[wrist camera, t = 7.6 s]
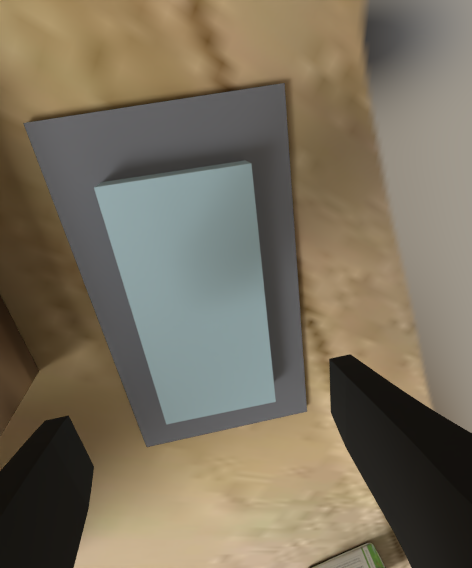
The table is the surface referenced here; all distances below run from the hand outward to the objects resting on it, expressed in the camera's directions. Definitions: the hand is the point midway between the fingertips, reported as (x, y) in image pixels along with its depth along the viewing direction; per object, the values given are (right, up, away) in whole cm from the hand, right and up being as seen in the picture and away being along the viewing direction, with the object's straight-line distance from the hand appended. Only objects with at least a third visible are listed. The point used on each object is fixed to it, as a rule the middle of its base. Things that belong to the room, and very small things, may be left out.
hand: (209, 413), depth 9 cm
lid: (-1, +3, +6) cm, 6 cm away
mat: (-1, +3, +6) cm, 7 cm away
